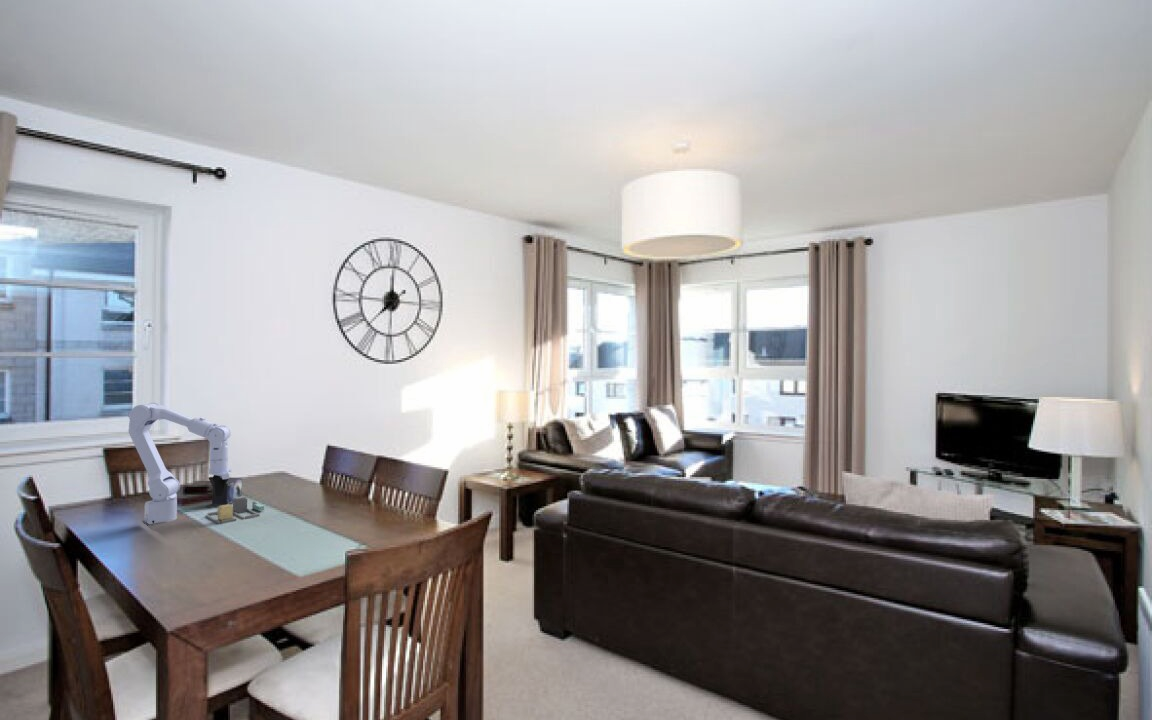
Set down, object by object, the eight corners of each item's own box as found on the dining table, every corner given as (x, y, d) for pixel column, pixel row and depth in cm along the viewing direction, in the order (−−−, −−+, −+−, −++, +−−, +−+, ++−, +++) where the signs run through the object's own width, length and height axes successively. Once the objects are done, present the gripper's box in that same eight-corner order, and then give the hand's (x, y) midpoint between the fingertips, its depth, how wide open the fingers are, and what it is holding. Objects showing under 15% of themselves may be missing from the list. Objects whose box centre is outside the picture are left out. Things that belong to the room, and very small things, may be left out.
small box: (227, 509, 232) (227, 483, 232) (211, 508, 232) (211, 482, 232) (242, 502, 243) (243, 477, 243) (227, 502, 243) (227, 477, 243)
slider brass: (220, 522, 210) (220, 507, 210) (217, 521, 212) (217, 505, 212) (232, 520, 213) (232, 505, 213) (229, 518, 215) (229, 503, 215)
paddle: (258, 512, 223) (258, 505, 223) (251, 509, 228) (251, 502, 228) (264, 511, 225) (264, 504, 225) (257, 508, 229) (257, 501, 229)
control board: (209, 530, 205) (209, 523, 205) (194, 521, 216) (194, 515, 216) (274, 517, 222) (275, 511, 222) (257, 509, 232) (257, 503, 232)
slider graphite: (235, 513, 221) (235, 499, 221) (232, 512, 223) (232, 497, 223) (247, 511, 224) (247, 497, 224) (244, 510, 226) (244, 495, 226)
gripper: (238, 460, 214) (237, 497, 215) (223, 455, 224) (223, 490, 224) (216, 462, 209) (216, 500, 209) (202, 457, 218) (202, 493, 219)
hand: (218, 495), depth 216 cm, fingers closed
